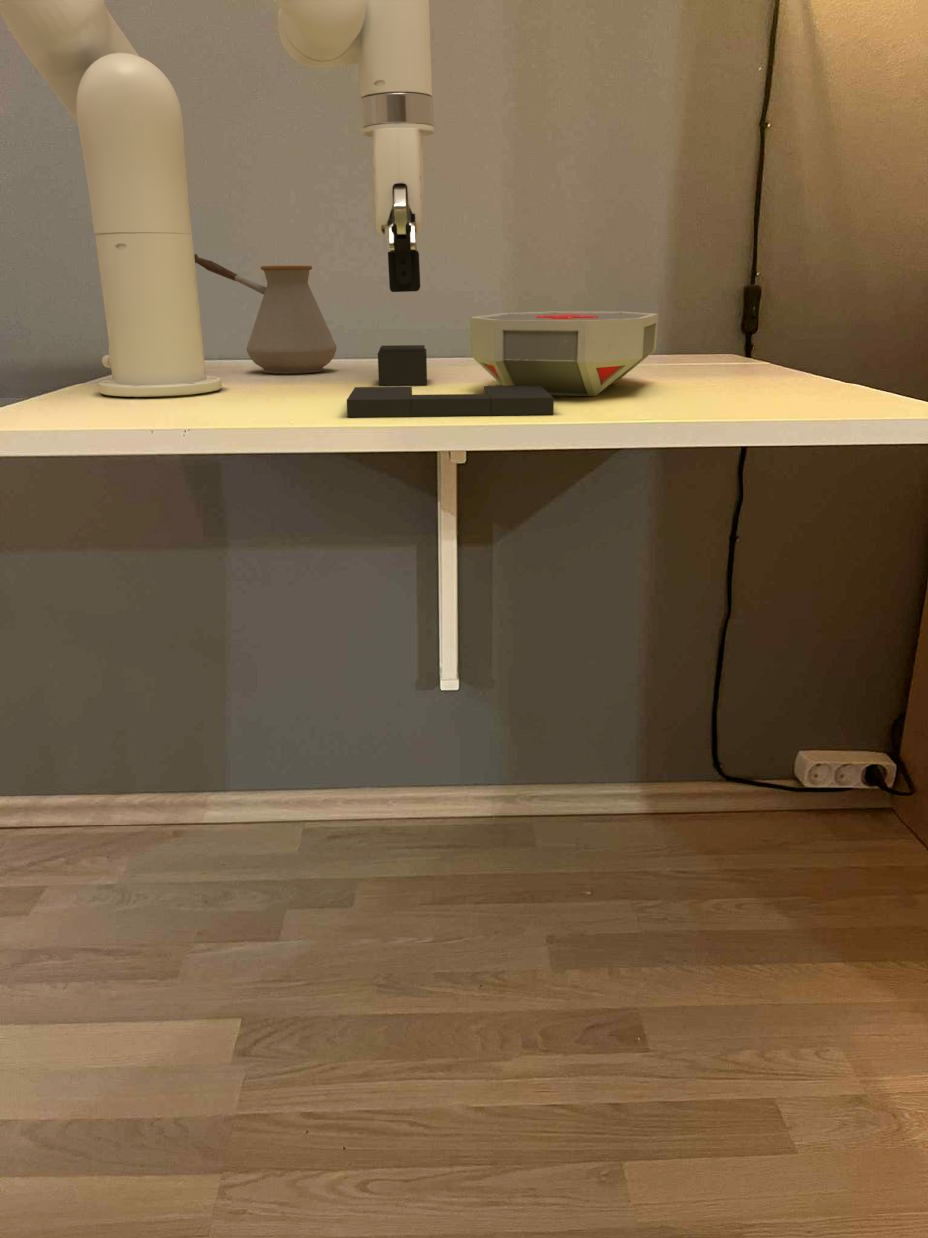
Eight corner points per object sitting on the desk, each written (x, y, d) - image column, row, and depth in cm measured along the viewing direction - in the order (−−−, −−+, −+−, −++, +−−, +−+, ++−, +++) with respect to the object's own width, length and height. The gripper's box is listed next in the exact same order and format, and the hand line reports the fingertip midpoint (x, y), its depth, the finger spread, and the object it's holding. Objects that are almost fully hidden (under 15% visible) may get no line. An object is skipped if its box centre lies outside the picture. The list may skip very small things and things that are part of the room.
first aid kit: (629, 405, 89) (660, 379, 111) (634, 321, 86) (664, 311, 109) (451, 399, 94) (515, 375, 116) (451, 319, 91) (516, 311, 114)
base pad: (347, 417, 82) (346, 399, 82) (355, 402, 92) (354, 387, 91) (553, 414, 83) (553, 397, 83) (540, 400, 92) (540, 384, 92)
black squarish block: (378, 385, 106) (377, 348, 105) (380, 380, 112) (379, 345, 110) (426, 385, 107) (426, 348, 105) (426, 380, 112) (426, 344, 110)
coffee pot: (351, 368, 127) (345, 247, 122) (315, 376, 117) (307, 245, 112) (209, 365, 133) (198, 250, 128) (163, 373, 122) (149, 248, 117)
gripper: (366, 131, 108) (376, 290, 114) (356, 106, 92) (367, 293, 98) (432, 129, 108) (438, 288, 114) (433, 104, 92) (440, 291, 98)
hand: (405, 290), depth 106 cm, fingers open, 9 cm apart
